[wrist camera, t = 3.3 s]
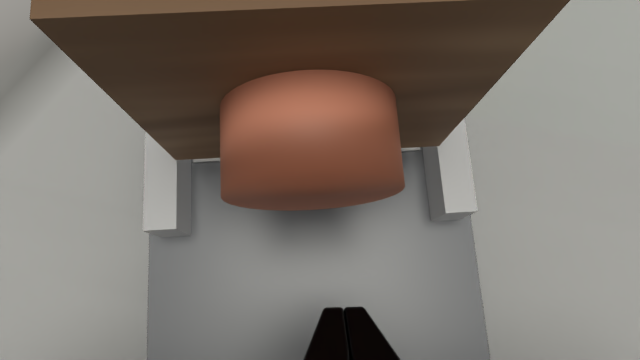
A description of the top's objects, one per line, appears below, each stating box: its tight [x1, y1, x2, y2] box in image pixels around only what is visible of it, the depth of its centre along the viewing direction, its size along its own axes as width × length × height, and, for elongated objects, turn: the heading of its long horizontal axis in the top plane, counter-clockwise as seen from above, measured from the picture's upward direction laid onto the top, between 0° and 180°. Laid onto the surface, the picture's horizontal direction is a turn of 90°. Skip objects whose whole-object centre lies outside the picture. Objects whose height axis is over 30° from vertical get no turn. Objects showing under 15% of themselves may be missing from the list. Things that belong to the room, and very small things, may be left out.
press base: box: [143, 118, 490, 360], centre depth 16 cm, size 14×11×3 cm
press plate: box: [30, 0, 570, 211], centre depth 10 cm, size 3×8×8 cm, turn 94°
